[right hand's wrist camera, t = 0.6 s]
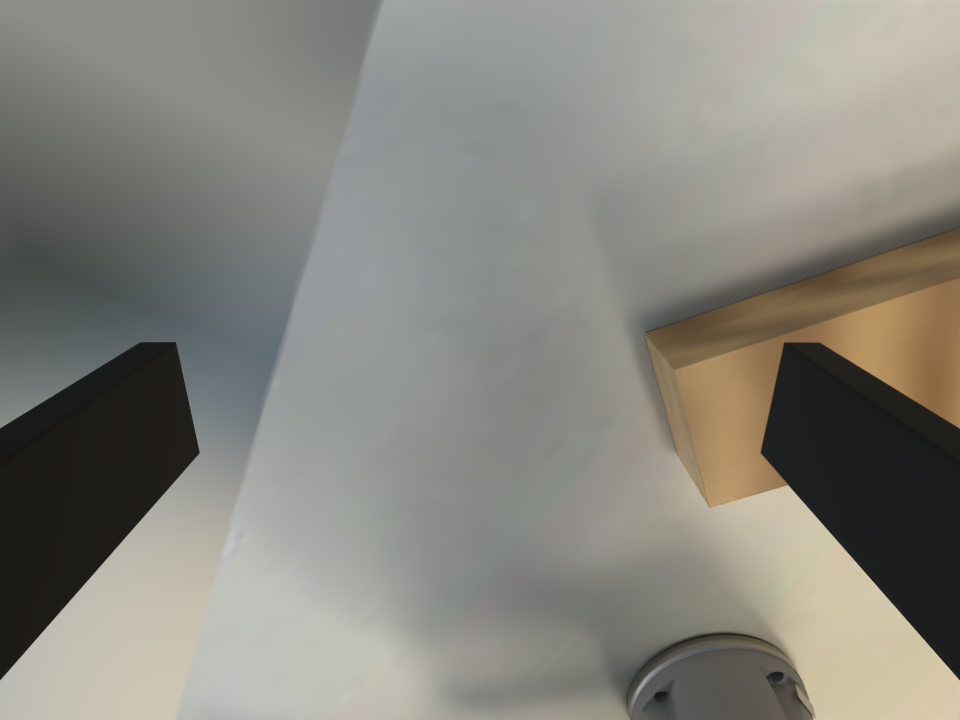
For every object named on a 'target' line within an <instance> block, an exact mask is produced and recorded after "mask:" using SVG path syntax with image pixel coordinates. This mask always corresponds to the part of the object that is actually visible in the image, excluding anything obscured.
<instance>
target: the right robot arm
mask: <svg viewBox="0 0 960 720" xmlns="http://www.w3.org/2000/svg"><path fill="white" fill-rule="evenodd" d="M199 453H200V452H199V447H198V443H197V438H196V434H195V429H194V424H193V420H192V415H191V410H190V406H189V401H188V396H187V392H186V387H185V383H184V378H183V373H182V369H181V364H180V360H179V355H178V350H177V345H176V342H140V343H139V344H137V345H135V346H134V347H132V348H130V349H129V350H127V351H126V352H124V353H122V354H121V355H119V356H117V357H116V358H114V359H113V360H111V361H109V362H108V363H106V364H104V365H103V366H101V367H100V368H98V369H96V370H95V371H93V372H91V373H90V374H88V375H86V376H85V377H83V378H82V379H80V380H78V381H77V382H75V383H73V384H72V385H70V386H69V387H67V388H65V389H64V390H62V391H60V392H59V393H57V394H56V395H54V396H52V397H51V398H49V399H47V400H46V401H44V402H43V403H41V404H39V405H38V406H36V407H34V408H33V409H31V410H29V411H28V412H26V413H25V414H23V415H21V416H20V417H18V418H16V419H15V420H13V421H12V422H10V423H8V424H7V425H5V426H3V427H2V428H0V680H1V679H2V678H3V676H4V675H5V674H6V673H7V672H8V671H9V670H10V668H11V667H12V666H13V665H14V664H15V663H16V662H17V660H18V659H19V658H20V657H21V656H22V655H23V654H24V653H25V651H26V650H27V649H28V648H29V647H30V646H31V645H32V643H33V642H34V641H35V640H36V639H37V638H38V637H39V635H40V634H41V633H42V632H43V631H44V630H45V629H46V627H47V626H48V625H49V624H50V623H51V622H52V621H53V620H54V618H55V617H56V616H57V615H58V614H59V613H60V611H61V610H62V609H63V608H64V607H65V606H66V605H67V604H68V602H69V601H70V600H71V599H72V598H73V597H74V596H75V594H76V593H77V592H78V591H79V590H80V589H81V588H82V586H83V585H84V584H85V583H86V582H87V581H88V580H89V579H90V577H91V576H92V575H93V574H94V573H95V572H96V570H97V569H98V568H99V567H100V566H101V565H102V564H103V563H104V561H105V560H106V559H107V558H108V557H109V556H110V555H111V553H112V552H113V551H114V550H115V549H116V548H117V547H118V545H119V544H120V543H121V542H122V541H123V540H124V539H125V537H126V536H127V535H128V534H129V533H130V532H131V531H132V530H133V528H134V527H135V526H136V525H137V524H138V523H139V522H140V520H141V519H142V518H143V517H144V516H145V515H146V514H147V512H148V511H149V510H150V509H151V508H152V507H153V505H154V504H155V503H156V502H157V501H158V500H159V499H160V498H161V496H162V495H163V494H164V493H165V492H166V491H167V490H168V489H169V487H170V486H171V485H172V484H173V483H174V482H175V480H176V479H177V478H178V477H179V476H180V475H181V474H182V473H183V471H184V470H185V469H186V468H187V467H188V466H189V464H190V463H191V462H192V461H193V460H194V459H195V458H196V457H197V455H198V454H199ZM760 453H761V454H762V455H763V457H764V458H765V459H766V460H767V461H768V462H769V463H770V465H771V466H772V467H773V468H774V469H775V470H776V471H777V473H778V474H779V475H780V476H781V477H782V478H783V479H784V481H785V482H786V483H787V484H788V485H789V486H790V487H791V489H792V490H793V491H794V492H795V493H796V494H797V495H798V496H799V498H800V499H801V500H802V501H803V502H804V503H805V504H806V506H807V507H808V508H809V509H810V510H811V511H812V512H813V514H814V515H815V516H816V517H817V518H818V519H819V520H820V522H821V523H822V524H823V525H824V526H825V527H826V528H827V530H828V531H829V532H830V533H831V534H832V535H833V536H834V537H835V539H836V540H837V541H838V542H839V543H840V544H841V545H842V547H843V548H844V549H845V550H846V551H847V552H848V553H849V555H850V556H851V557H852V558H853V559H854V560H855V561H856V563H857V564H858V565H859V566H860V567H861V568H862V569H863V571H864V572H865V573H866V574H867V575H868V576H869V577H870V579H871V580H872V581H873V582H874V583H875V584H876V585H877V586H878V588H879V589H880V590H881V591H882V592H883V593H884V594H885V596H886V597H887V598H888V599H889V600H890V601H891V602H892V604H893V605H894V606H895V607H896V608H897V609H898V610H899V612H900V613H901V614H902V615H903V616H904V617H905V618H906V620H907V621H908V622H909V623H910V624H911V625H912V626H913V627H914V629H915V630H916V631H917V632H918V633H919V634H920V635H921V637H922V638H923V639H924V640H925V641H926V642H927V643H928V645H929V646H930V647H931V648H932V649H933V650H934V651H935V653H936V654H937V655H938V656H939V657H940V658H941V659H942V661H943V662H944V663H945V664H946V665H947V666H948V667H949V668H950V670H951V671H952V672H953V673H954V674H955V675H956V676H957V678H958V679H959V680H960V428H958V427H957V426H955V425H953V424H952V423H950V422H948V421H947V420H945V419H944V418H942V417H940V416H939V415H937V414H935V413H934V412H932V411H931V410H929V409H927V408H926V407H924V406H922V405H921V404H919V403H917V402H916V401H914V400H913V399H911V398H909V397H908V396H906V395H904V394H903V393H901V392H900V391H898V390H896V389H895V388H893V387H891V386H890V385H888V384H887V383H885V382H883V381H882V380H880V379H878V378H877V377H875V376H874V375H872V374H870V373H869V372H867V371H865V370H864V369H862V368H861V367H859V366H857V365H856V364H854V363H852V362H851V361H849V360H848V359H846V358H844V357H843V356H841V355H839V354H838V353H836V352H834V351H833V350H831V349H830V348H828V347H826V346H825V345H823V344H821V343H820V342H784V345H783V350H782V355H781V359H780V364H779V369H778V373H777V378H776V382H775V387H774V392H773V396H772V401H771V406H770V410H769V415H768V420H767V424H766V429H765V434H764V438H763V443H762V447H761V452H760ZM627 706H628V713H629V716H630V720H813V716H814V717H815V713H814V709H813V706H812V704H811V703H810V702H809V698H808V695H807V692H806V689H805V687H804V684H803V682H802V680H801V678H800V676H799V675H798V673H797V671H796V669H795V668H794V666H793V664H792V663H791V661H790V660H789V659H788V658H787V657H786V656H785V655H784V654H783V653H782V652H781V651H780V650H778V649H777V648H775V647H773V646H772V645H770V644H768V643H765V642H763V641H760V640H757V639H754V638H750V637H744V636H736V635H716V636H708V637H702V638H697V639H693V640H690V641H686V642H684V643H681V644H678V645H676V646H674V647H672V648H670V649H668V650H666V651H664V652H662V653H661V654H659V655H658V656H656V657H655V658H654V659H652V660H651V661H650V662H649V663H648V664H647V665H645V666H644V668H643V669H642V670H641V671H640V672H639V673H638V675H637V676H636V678H635V679H634V681H633V683H632V685H631V687H630V690H629V694H628V700H627ZM812 715H813V716H812ZM815 719H816V717H815Z"/></svg>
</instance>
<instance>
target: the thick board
mask: <svg viewBox="0 0 960 720" xmlns="http://www.w3.org/2000/svg"><path fill="white" fill-rule="evenodd" d="M644 335H645V338H646V342H647V346H648V349H649V353H650V357H651V360H652V364H653V368H654V371H655V375H656V379H657V382H658V386H659V390H660V393H661V397H662V400H663V404H664V408H665V411H666V415H667V419H668V422H669V426H670V430H671V433H672V437H673V441H674V444H675V448H676V452H677V455H678V457H679V458H680V460H681V462H682V463H683V465H684V467H685V468H686V470H687V472H688V473H689V475H690V476H691V478H692V480H693V481H694V483H695V485H696V486H697V488H698V490H699V491H700V493H701V495H702V496H703V498H704V499H705V501H706V503H707V504H708V506H709V507H714V506H717V505H721V504H724V503H728V502H731V501H735V500H738V499H741V498H745V497H748V496H752V495H755V494H759V493H762V492H766V491H769V490H773V489H776V488H779V487H783V486H786V485H788V484H787V483H786V482H785V481H784V479H783V478H782V477H781V476H780V475H779V474H778V473H777V471H776V470H775V469H774V468H773V467H772V466H771V465H770V463H769V462H768V461H767V460H766V459H765V458H764V457H763V455H762V454H761V453H760V452H761V447H762V443H763V438H764V434H765V429H766V424H767V420H768V415H769V410H770V406H771V401H772V396H773V392H774V387H775V382H776V378H777V373H778V369H779V364H780V359H781V355H782V350H783V345H784V342H820V343H821V344H823V345H825V346H826V347H828V348H830V349H831V350H833V351H834V352H836V353H838V354H839V355H841V356H843V357H844V358H846V359H848V360H849V361H851V362H852V363H854V364H856V365H857V366H859V367H861V368H862V369H864V370H865V371H867V372H869V373H870V374H872V375H874V376H875V377H877V378H878V379H880V380H882V381H883V382H885V383H887V384H888V385H890V386H891V387H893V388H895V389H896V390H898V391H900V392H901V393H903V394H904V395H906V396H908V397H909V398H911V399H913V400H914V401H916V402H917V403H919V404H921V405H922V406H924V407H926V408H927V409H929V410H931V411H932V412H934V413H935V414H937V415H939V416H940V417H942V418H944V419H945V420H947V421H948V422H950V423H952V424H953V425H955V426H957V427H958V428H960V228H957V229H954V230H951V231H948V232H945V233H942V234H939V235H936V236H933V237H930V238H927V239H924V240H921V241H918V242H915V243H912V244H910V245H907V246H904V247H901V248H898V249H895V250H892V251H889V252H886V253H883V254H880V255H877V256H874V257H871V258H868V259H865V260H862V261H859V262H856V263H853V264H850V265H847V266H844V267H841V268H838V269H835V270H832V271H829V272H826V273H823V274H820V275H817V276H814V277H811V278H808V279H805V280H802V281H799V282H796V283H793V284H790V285H787V286H784V287H781V288H778V289H775V290H772V291H769V292H766V293H763V294H760V295H757V296H754V297H751V298H748V299H745V300H742V301H739V302H736V303H733V304H730V305H727V306H725V307H722V308H719V309H716V310H713V311H710V312H707V313H704V314H701V315H698V316H695V317H692V318H689V319H686V320H683V321H680V322H677V323H674V324H671V325H668V326H665V327H662V328H659V329H656V330H653V331H650V332H647V333H644Z"/></svg>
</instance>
